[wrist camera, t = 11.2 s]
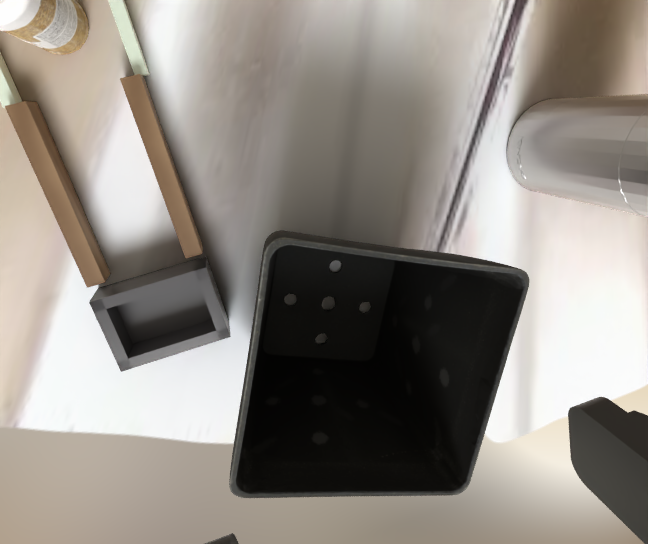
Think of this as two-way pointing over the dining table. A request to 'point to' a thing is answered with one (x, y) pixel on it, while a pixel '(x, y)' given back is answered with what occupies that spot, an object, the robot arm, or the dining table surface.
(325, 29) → the dining table surface
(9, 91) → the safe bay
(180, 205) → the channel
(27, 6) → the sprinkles bottle
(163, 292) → the bin
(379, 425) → the flower pot
